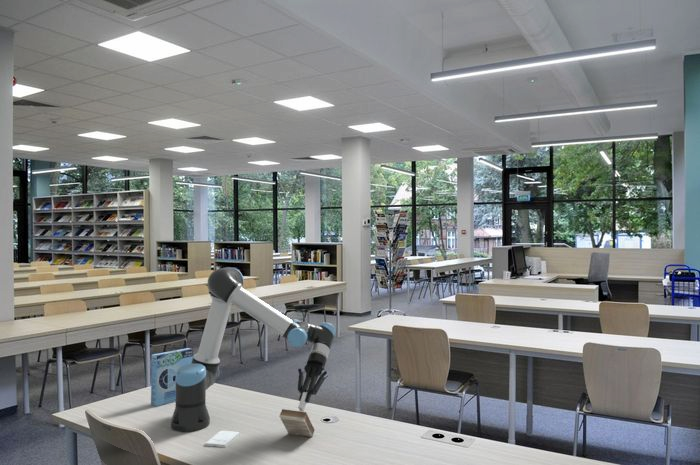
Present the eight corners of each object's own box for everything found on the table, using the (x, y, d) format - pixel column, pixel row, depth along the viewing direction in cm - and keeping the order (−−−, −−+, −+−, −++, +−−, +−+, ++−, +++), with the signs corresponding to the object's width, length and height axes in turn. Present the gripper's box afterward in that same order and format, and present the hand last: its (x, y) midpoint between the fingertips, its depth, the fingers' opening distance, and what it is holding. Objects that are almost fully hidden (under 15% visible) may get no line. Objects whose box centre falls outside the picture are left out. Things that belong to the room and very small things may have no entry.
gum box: (156, 407, 223) (156, 356, 224) (150, 404, 226) (150, 354, 227) (193, 396, 238) (194, 349, 239) (187, 394, 241) (187, 347, 242)
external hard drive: (239, 436, 191) (225, 449, 179) (219, 434, 193) (204, 447, 180) (239, 431, 191) (225, 444, 179) (219, 430, 193) (204, 442, 180)
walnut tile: (312, 437, 189) (303, 419, 182) (288, 433, 192) (279, 416, 185) (314, 430, 191) (306, 412, 184) (291, 426, 194) (282, 409, 187)
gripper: (335, 363, 207) (319, 416, 191) (306, 360, 211) (288, 412, 195) (330, 352, 202) (313, 406, 186) (301, 350, 206) (282, 402, 190)
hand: (300, 409), depth 190 cm, fingers closed
